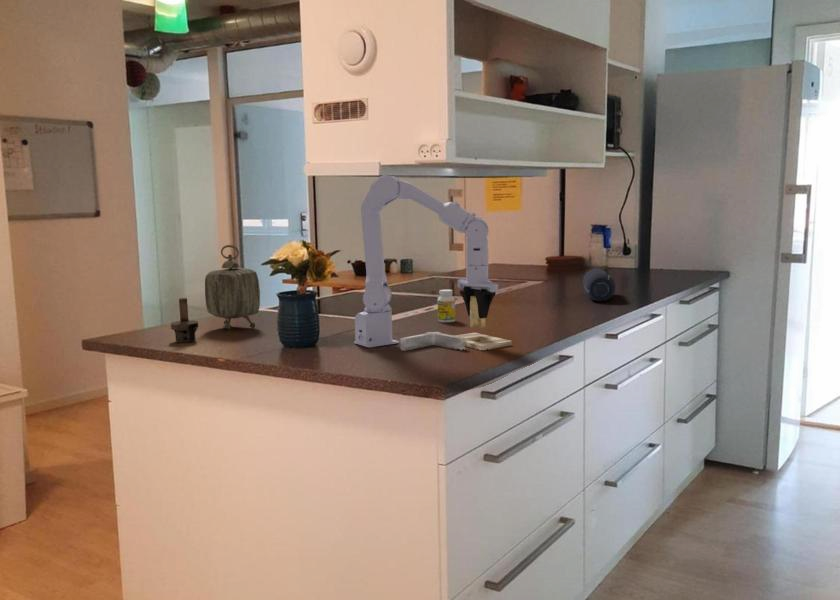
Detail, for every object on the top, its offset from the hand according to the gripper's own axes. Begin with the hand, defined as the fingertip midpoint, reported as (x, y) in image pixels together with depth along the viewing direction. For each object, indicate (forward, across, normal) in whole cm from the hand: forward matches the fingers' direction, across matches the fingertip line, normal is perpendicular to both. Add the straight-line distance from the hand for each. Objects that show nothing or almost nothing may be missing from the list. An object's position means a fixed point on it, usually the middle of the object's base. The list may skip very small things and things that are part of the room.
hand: (477, 316), depth 202 cm
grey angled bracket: (+7, +4, +12) cm, 14 cm away
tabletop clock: (+7, +65, +42) cm, 78 cm away
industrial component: (+7, +55, +60) cm, 82 cm away
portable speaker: (+7, +37, -85) cm, 93 cm away
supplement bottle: (+7, +33, -14) cm, 37 cm away
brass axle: (+2, 0, 0) cm, 2 cm away
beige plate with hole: (+7, 0, 0) cm, 7 cm away
